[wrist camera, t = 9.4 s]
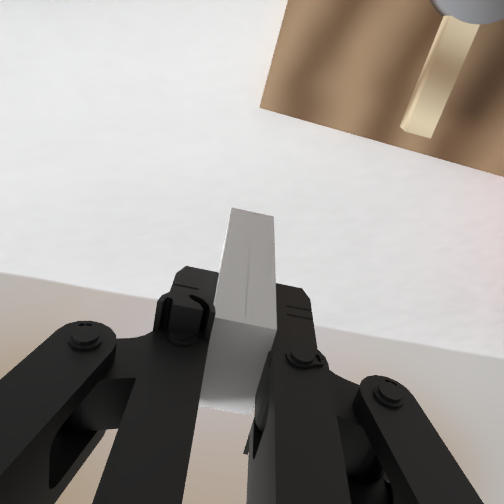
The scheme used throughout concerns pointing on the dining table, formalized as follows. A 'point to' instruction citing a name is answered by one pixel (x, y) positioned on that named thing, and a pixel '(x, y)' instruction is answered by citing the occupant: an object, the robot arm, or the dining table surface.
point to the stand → (387, 77)
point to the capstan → (446, 59)
